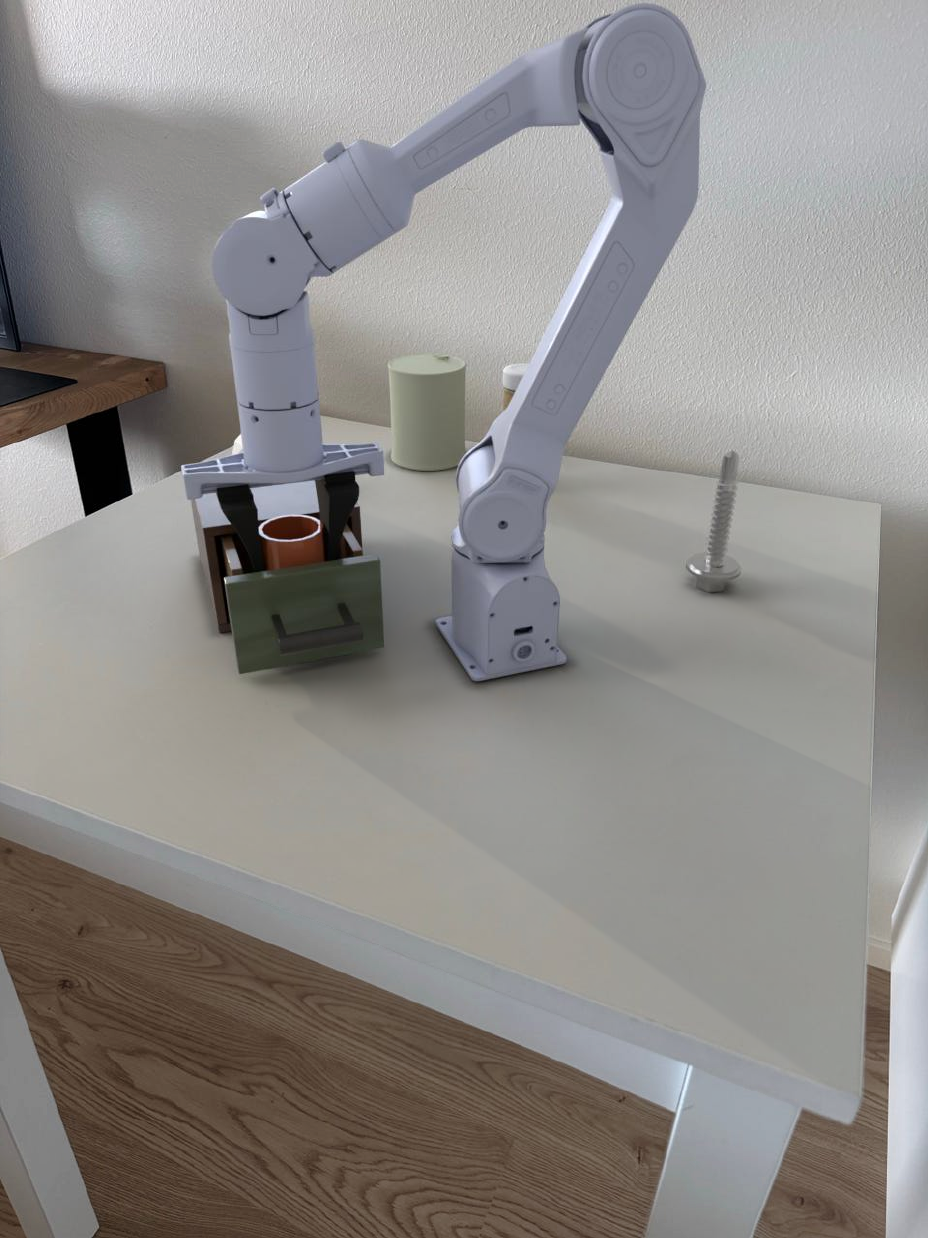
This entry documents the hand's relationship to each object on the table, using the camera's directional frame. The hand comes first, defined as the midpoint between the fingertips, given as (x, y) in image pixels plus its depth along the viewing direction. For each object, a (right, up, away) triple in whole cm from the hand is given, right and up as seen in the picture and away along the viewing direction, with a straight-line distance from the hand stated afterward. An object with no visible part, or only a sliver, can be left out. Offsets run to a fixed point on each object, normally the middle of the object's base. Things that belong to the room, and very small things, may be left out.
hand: (295, 569), depth 71 cm
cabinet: (-4, -1, +12) cm, 13 cm away
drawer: (0, -5, +3) cm, 6 cm away
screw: (+36, -1, +12) cm, 38 cm away
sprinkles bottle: (+20, +11, +33) cm, 40 cm away
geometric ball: (-8, +10, +31) cm, 34 cm away
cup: (0, -1, +1) cm, 1 cm away
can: (+9, +16, +40) cm, 44 cm away
